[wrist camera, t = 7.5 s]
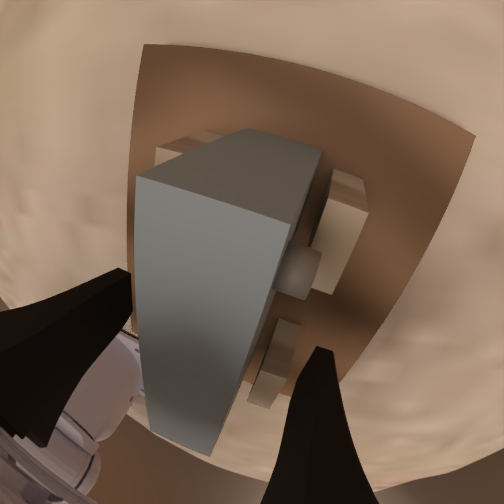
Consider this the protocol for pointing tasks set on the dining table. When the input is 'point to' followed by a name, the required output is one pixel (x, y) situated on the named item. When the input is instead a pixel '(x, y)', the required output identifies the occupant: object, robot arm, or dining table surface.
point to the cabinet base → (322, 190)
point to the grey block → (215, 271)
